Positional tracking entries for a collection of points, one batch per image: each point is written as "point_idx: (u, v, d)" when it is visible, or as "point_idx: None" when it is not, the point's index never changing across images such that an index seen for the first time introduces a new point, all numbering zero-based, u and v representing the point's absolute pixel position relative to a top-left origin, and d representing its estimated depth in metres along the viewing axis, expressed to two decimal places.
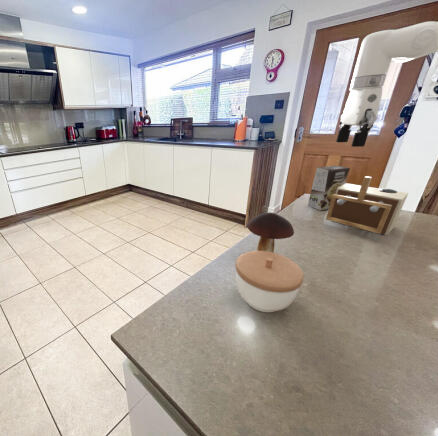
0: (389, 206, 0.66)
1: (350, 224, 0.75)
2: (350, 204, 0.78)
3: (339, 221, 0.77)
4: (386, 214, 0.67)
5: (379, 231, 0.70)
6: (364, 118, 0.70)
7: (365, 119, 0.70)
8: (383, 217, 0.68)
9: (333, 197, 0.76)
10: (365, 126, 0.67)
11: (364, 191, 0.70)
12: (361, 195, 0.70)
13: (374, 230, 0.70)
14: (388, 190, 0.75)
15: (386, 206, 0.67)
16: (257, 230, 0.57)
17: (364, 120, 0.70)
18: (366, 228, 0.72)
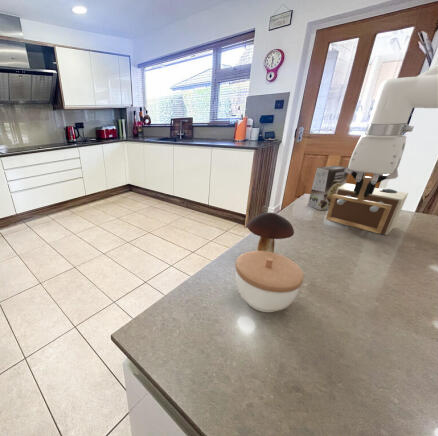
0: (389, 206, 0.66)
1: (350, 224, 0.75)
2: (350, 204, 0.78)
3: (339, 221, 0.77)
4: (386, 214, 0.67)
5: (379, 231, 0.70)
6: None
7: None
8: (383, 217, 0.68)
9: (333, 197, 0.76)
10: (384, 178, 0.65)
11: (364, 191, 0.70)
12: (361, 195, 0.70)
13: (374, 230, 0.70)
14: (388, 190, 0.75)
15: (386, 206, 0.67)
16: (257, 230, 0.57)
17: None
18: (366, 228, 0.72)
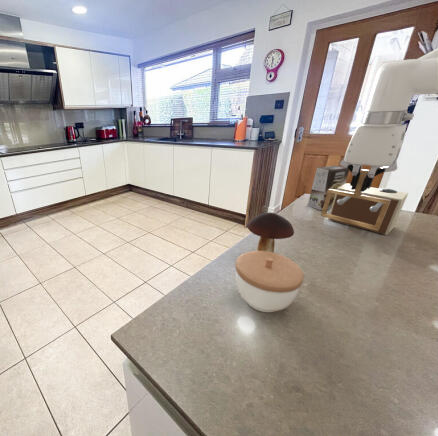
0: (388, 201, 0.62)
1: (346, 221, 0.70)
2: (350, 204, 0.78)
3: (335, 218, 0.72)
4: (384, 210, 0.63)
5: (377, 228, 0.65)
6: None
7: None
8: (381, 213, 0.63)
9: (328, 192, 0.72)
10: (382, 171, 0.61)
11: (361, 185, 0.65)
12: (358, 189, 0.66)
13: (372, 227, 0.66)
14: (388, 190, 0.75)
15: (384, 201, 0.62)
16: (257, 230, 0.57)
17: None
18: (363, 225, 0.67)
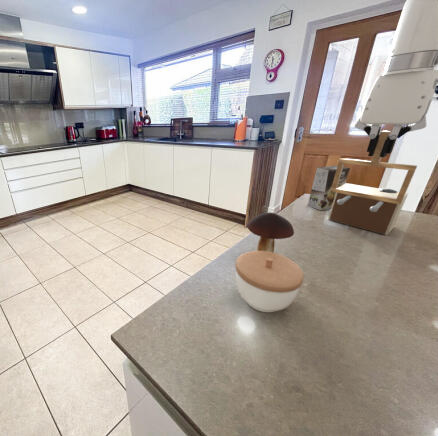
0: (413, 167, 0.51)
1: (361, 195, 0.60)
2: (350, 204, 0.78)
3: (347, 192, 0.62)
4: (409, 178, 0.52)
5: (399, 201, 0.55)
6: None
7: None
8: (405, 182, 0.53)
9: (340, 162, 0.62)
10: (408, 130, 0.50)
11: (380, 150, 0.55)
12: (376, 156, 0.56)
13: (393, 200, 0.56)
14: (388, 190, 0.75)
15: (409, 167, 0.52)
16: (257, 230, 0.57)
17: None
18: (382, 198, 0.57)
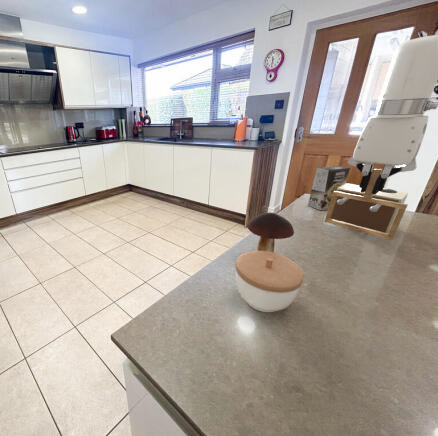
0: (404, 206, 0.53)
1: (354, 228, 0.61)
2: (350, 204, 0.78)
3: (341, 224, 0.63)
4: (400, 216, 0.54)
5: (391, 237, 0.56)
6: None
7: None
8: (396, 219, 0.54)
9: (334, 195, 0.63)
10: (398, 170, 0.52)
11: (372, 187, 0.56)
12: (368, 192, 0.57)
13: (384, 235, 0.57)
14: (388, 190, 0.75)
15: (400, 206, 0.53)
16: (257, 230, 0.57)
17: None
18: (374, 233, 0.58)
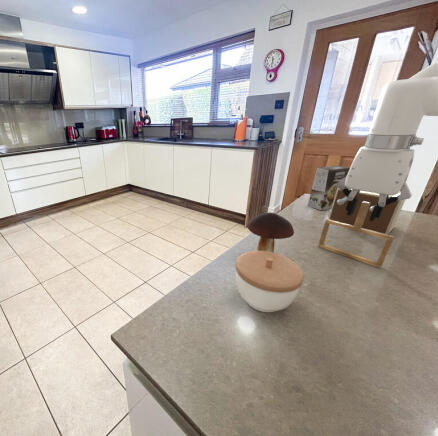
0: (391, 238, 0.56)
1: (346, 254, 0.65)
2: None
3: (333, 250, 0.67)
4: (387, 247, 0.57)
5: (379, 265, 0.60)
6: None
7: None
8: (384, 250, 0.58)
9: (326, 223, 0.66)
10: (395, 200, 0.53)
11: (362, 218, 0.59)
12: (358, 223, 0.60)
13: (373, 264, 0.60)
14: None
15: (387, 237, 0.57)
16: (257, 230, 0.57)
17: None
18: (364, 260, 0.62)
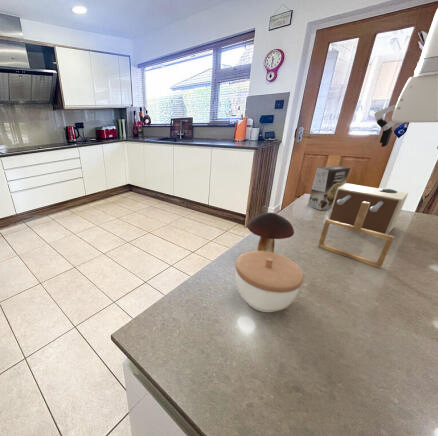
0: (391, 238, 0.56)
1: (346, 254, 0.65)
2: (350, 204, 0.78)
3: (333, 250, 0.67)
4: (387, 247, 0.57)
5: (379, 265, 0.60)
6: None
7: None
8: (384, 250, 0.58)
9: (326, 223, 0.66)
10: None
11: (362, 218, 0.59)
12: (358, 223, 0.60)
13: (373, 264, 0.60)
14: (388, 190, 0.75)
15: (387, 237, 0.57)
16: (257, 230, 0.57)
17: None
18: (364, 260, 0.62)
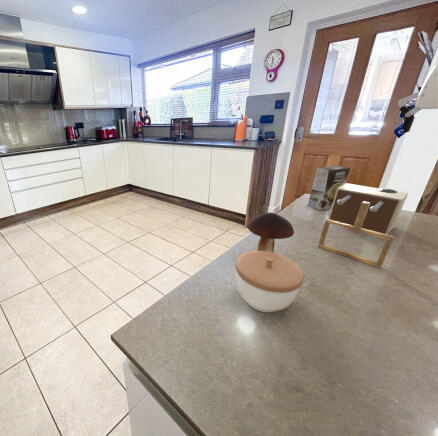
0: (391, 238, 0.56)
1: (346, 254, 0.65)
2: (350, 204, 0.78)
3: (333, 250, 0.67)
4: (387, 247, 0.57)
5: (379, 265, 0.60)
6: None
7: None
8: (384, 250, 0.58)
9: (326, 223, 0.66)
10: None
11: (362, 218, 0.59)
12: (358, 223, 0.60)
13: (373, 264, 0.60)
14: (388, 190, 0.75)
15: (387, 237, 0.57)
16: (257, 230, 0.57)
17: None
18: (364, 260, 0.62)
